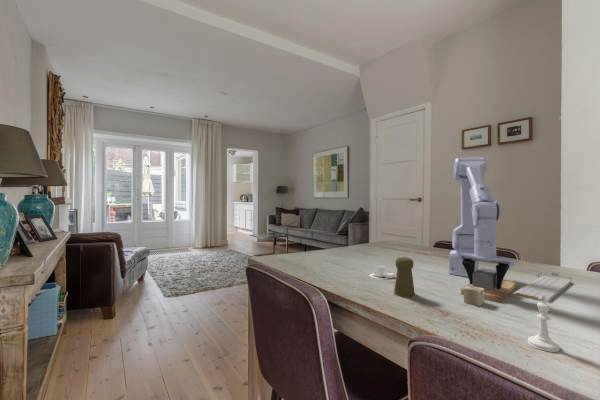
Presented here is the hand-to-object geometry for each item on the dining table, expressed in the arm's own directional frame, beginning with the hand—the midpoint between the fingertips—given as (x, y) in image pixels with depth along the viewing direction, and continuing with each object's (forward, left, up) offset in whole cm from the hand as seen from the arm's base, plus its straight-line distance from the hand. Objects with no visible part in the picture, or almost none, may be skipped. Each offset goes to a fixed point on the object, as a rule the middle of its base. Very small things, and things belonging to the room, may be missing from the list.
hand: (485, 285), depth 89 cm
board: (0, +5, -2) cm, 6 cm away
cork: (-17, -18, -3) cm, 25 cm away
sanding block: (0, +1, -1) cm, 2 cm away
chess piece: (+17, -28, -3) cm, 32 cm away
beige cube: (0, -8, 0) cm, 8 cm away
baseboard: (+11, +20, -3) cm, 23 cm away
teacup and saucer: (-31, -7, -3) cm, 32 cm away
